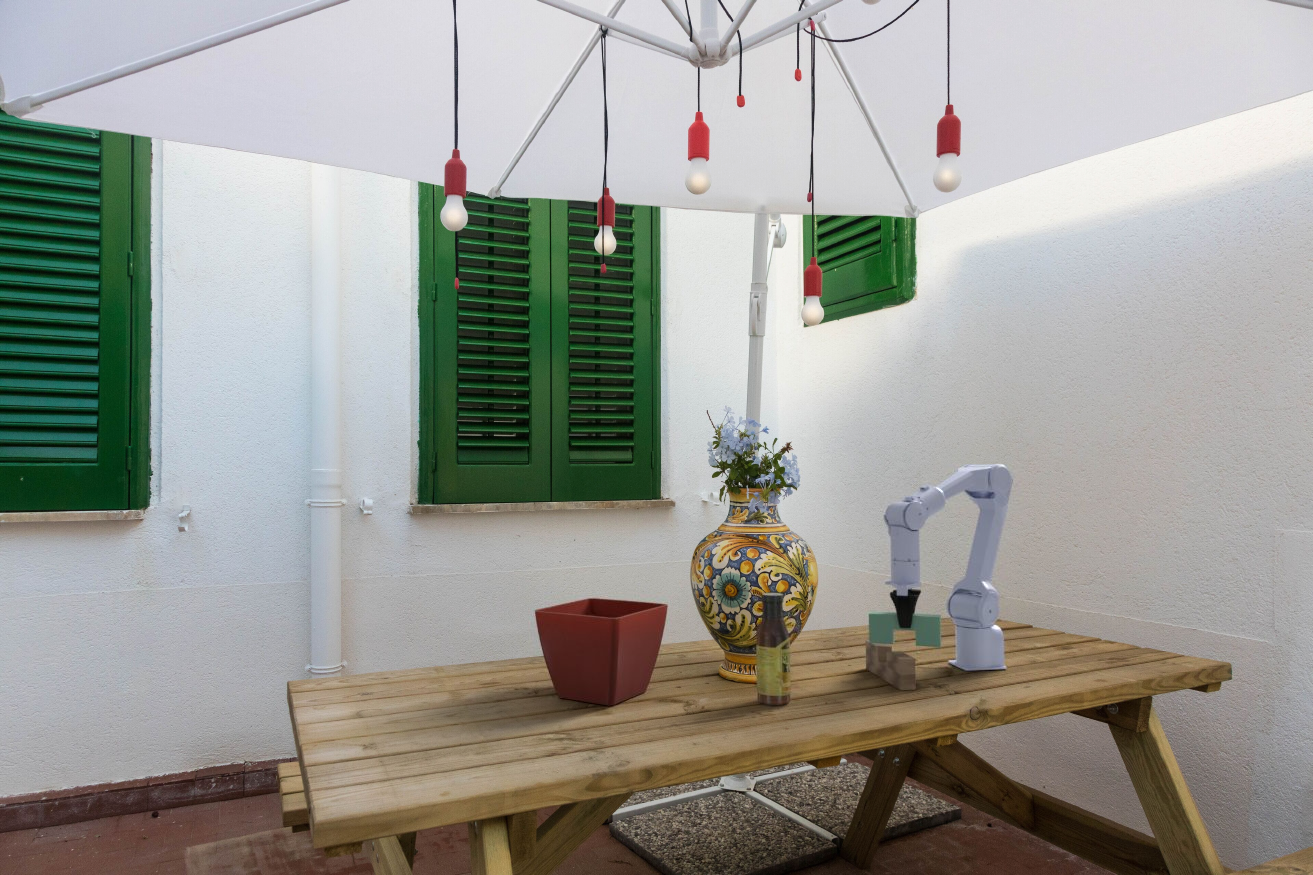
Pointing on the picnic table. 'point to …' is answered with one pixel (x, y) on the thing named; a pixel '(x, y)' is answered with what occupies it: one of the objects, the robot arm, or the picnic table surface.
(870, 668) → the walnut notched bar
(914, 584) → the robot arm
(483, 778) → the picnic table surface
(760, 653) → the sauce bottle
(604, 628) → the plant pot
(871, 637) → the green notched bar
